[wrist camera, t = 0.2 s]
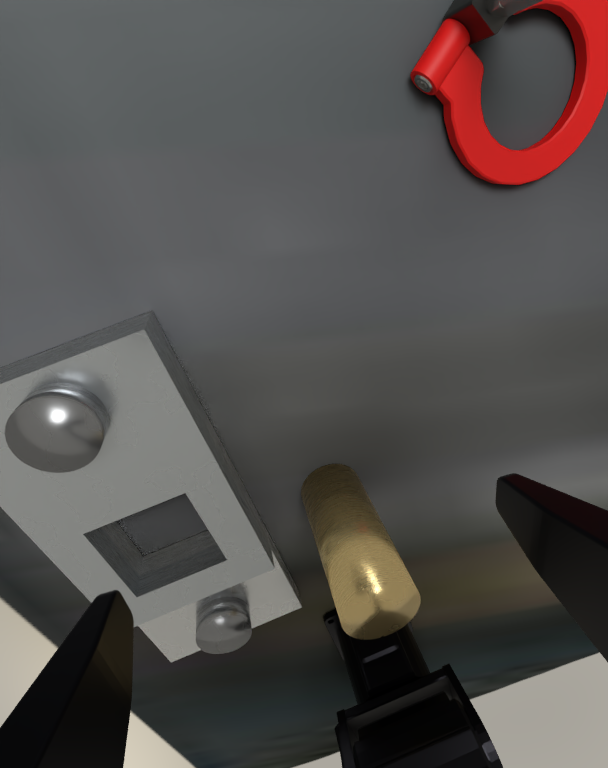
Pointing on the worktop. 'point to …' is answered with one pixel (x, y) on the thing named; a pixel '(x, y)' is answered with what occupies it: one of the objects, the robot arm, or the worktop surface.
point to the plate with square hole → (136, 488)
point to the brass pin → (358, 555)
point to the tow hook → (465, 72)
